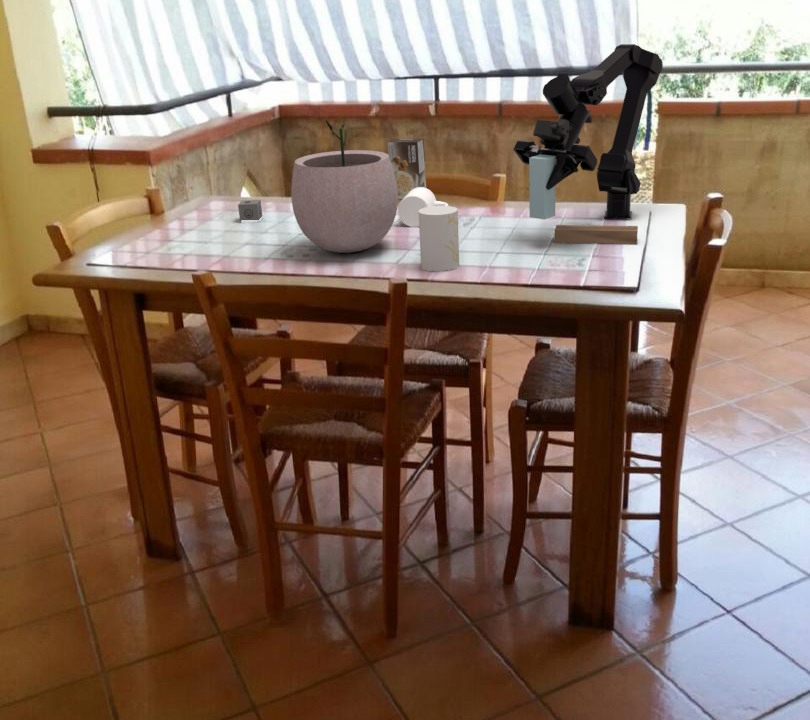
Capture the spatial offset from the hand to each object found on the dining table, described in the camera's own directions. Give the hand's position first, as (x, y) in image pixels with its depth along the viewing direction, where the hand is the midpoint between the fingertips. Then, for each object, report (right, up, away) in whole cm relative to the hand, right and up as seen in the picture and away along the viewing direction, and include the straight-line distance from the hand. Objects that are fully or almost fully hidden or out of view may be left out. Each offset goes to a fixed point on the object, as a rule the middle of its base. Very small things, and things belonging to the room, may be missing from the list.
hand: (538, 187), depth 189 cm
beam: (+14, -10, +8) cm, 19 cm away
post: (+1, -6, +3) cm, 7 cm away
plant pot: (-42, -12, +13) cm, 45 cm away
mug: (-24, -3, +33) cm, 40 cm away
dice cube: (-70, 0, +44) cm, 83 cm away
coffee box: (-28, +9, +60) cm, 67 cm away
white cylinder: (-21, -17, -3) cm, 28 cm away
